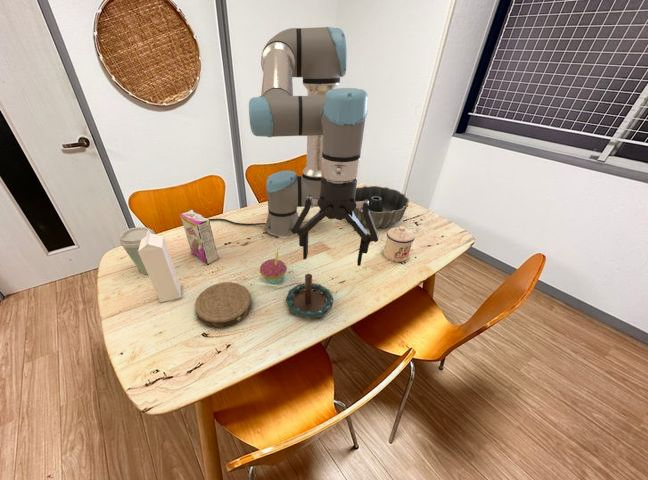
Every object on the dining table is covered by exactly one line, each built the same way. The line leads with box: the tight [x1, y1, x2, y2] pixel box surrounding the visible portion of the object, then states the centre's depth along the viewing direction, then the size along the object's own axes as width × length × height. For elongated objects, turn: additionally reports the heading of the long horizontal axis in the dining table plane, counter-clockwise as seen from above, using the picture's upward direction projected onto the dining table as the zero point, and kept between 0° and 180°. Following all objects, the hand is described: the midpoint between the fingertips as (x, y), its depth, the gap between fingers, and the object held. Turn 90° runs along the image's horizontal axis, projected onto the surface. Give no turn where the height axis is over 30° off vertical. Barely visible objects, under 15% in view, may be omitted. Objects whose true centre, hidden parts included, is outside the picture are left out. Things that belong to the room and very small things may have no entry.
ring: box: [285, 282, 335, 319], centre depth 81 cm, size 14×14×2 cm
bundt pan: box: [353, 185, 410, 229], centre depth 120 cm, size 26×26×10 cm
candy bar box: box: [179, 209, 219, 265], centre depth 98 cm, size 11×5×16 cm, turn 47°
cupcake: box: [259, 251, 288, 285], centre depth 88 cm, size 9×8×12 cm
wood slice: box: [194, 281, 252, 329], centre depth 81 cm, size 16×16×3 cm
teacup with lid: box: [383, 225, 416, 263], centre depth 98 cm, size 12×9×12 cm
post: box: [289, 273, 326, 319], centre depth 79 cm, size 9×9×11 cm
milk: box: [138, 228, 182, 303], centre depth 80 cm, size 6×6×22 cm
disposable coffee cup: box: [118, 226, 156, 275], centre depth 93 cm, size 11×11×15 cm
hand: (331, 259), depth 71 cm, fingers open, 13 cm apart
